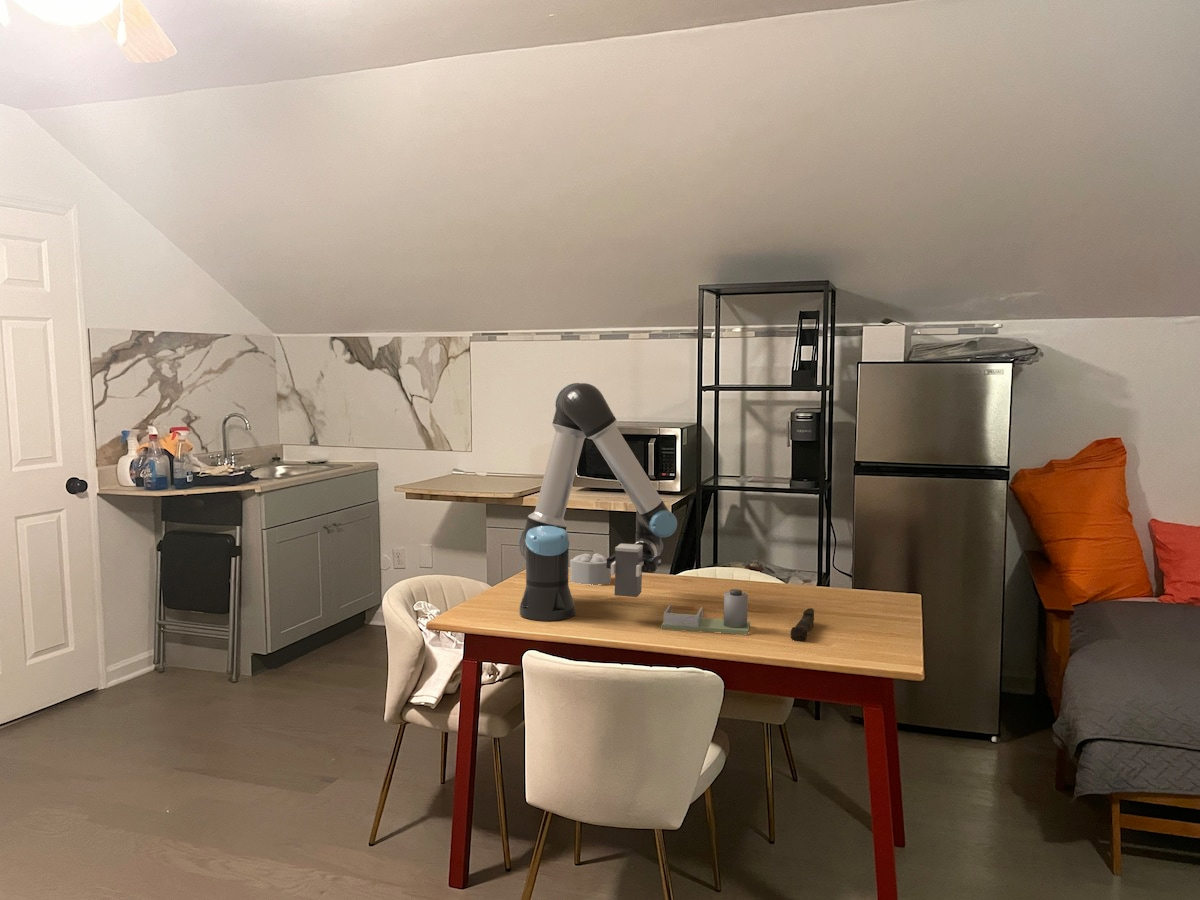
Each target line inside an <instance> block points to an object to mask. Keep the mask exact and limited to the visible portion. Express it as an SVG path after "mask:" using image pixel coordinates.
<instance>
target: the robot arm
mask: <svg viewBox="0 0 1200 900" xmlns="http://www.w3.org/2000/svg"><path fill="white" fill-rule="evenodd" d="M554 405H555V413H554V415H553V420H552V424H551V425H552V427H553V429H554V431H555V433H554V436H553V439H552V440H553V441H552V444H551V447H550V452H549V455H548V459H547V463H546V467H545V471H544V474H543V479H542V483H541V485H540V489H539V494H538V497H537V500H536V505H535V509H534V511H533V512H532V513H530V514H528V515H527V518H526V522H525V526H524V528H523V531H522V532H521V534H520V536H519V541H518V548H519V551H520V554H521V556H522V557H523V559H524V560H525V565H526V566H525V589H524V592H523V595H522V598H521V602H520V605H519V616H520V617H522V616H523V617H522V618H524V617H525V618H524V619H527V618H528V619H527V620H532V619H533V621H541V622H542V621H545V622H546V621H549V620H550V621H561V620H566V619H569V618H571V616H572V617H574V616H575V613H576V612H575V608H576V607H575V602H574V598H573V597H572V593H571V589H570V587H569V562H570V561H569V559H570V558H569V551H570V550H569V547H570V539H569V534H568V532H567V527H568V525H567V523H566V521H565V513H566V511H567V506H568V502H569V500H570V495H571V491H572V488H573V483H574V481H575V476H576V472H577V468H578V466H579V460H580V457H581V453H582V449H583V445H584V441H585V440H586V439H588V440H592V442H593V443H594V445H595V446H596V448H597V450H598V451H599V453H600V454H601V456H602V457H603V459H604V460H605V461H606V463H607V465H608V467H609V468H610V470H611V472H612V473H613V475H614V476H615V478H616V479H617V481H618V482H619V484H620V486H621V487H622V488H623V490H624V492H625V494H626V495H627V496H628V498H629V500H630V501H631V502H632V504H633V505H634V508H635V509H636V513H635V514H636V518H635V519H636V521H635V528H636V529H635V542H634V544H636V545H643V552H642V562H640V563H639V564H638V565H637V566H636V577H639V576H640V575H641V574H642V575H643V573H648V572H649V571H650V572H652V573H654V572H657V571H656V570H657V569H658V567H660V566H662V556H661V554H662V553H663V549H664V543H663V541H662V538H668V537H670V536H672V535H673V534H674V533H675V532H676V530H677V529H678V528H677V527H678V520H677V517H676V515H674V513H673V512H672V511H670V510H669V509H668V507H667V505H666V504H665V503H664V502H665V501H663V498H662V497H661V495H660V494H659V492H658V490H657V489H656V488H655V486H654V485H653V482H651V480H650V478H649V476H648V475H647V473H646V472H645V470H644V467H642V465H641V463H640V462H639V460H638V459H637V457H636V456H635V454H634V452H633V451H632V449H631V447H630V446H629V444H628V442H627V441H626V440H625V438H624V436H623V435H622V433H621V432H620V430H619V428H618V427H617V418H616V416H615V415H614V413H613V411H612V410H611V408H610V406H609V404H608V403H607V400H606V399H605V397H604V395H603V394H602V392H601V391H600V389H598V388H597V387H596V386H595V385H593V384H590V383H585V382H582V383H581V382H575V383H574V382H573V383H571V384H568V385H566V386H564V387H563V388H562V389H561V390H560V391H559V392H558V393H557V396H556V399H555V404H554ZM606 558H607V566H606V568H610V569H611V576H615V560H616V551H615V552H613V554H612V555H610V556H609V557H606Z"/></svg>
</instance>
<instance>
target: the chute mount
mask: <svg viewBox="0 0 1200 900" xmlns="http://www.w3.org/2000/svg"><path fill="white" fill-rule="evenodd" d="M703 613H704V612H703V607H702V606H701V607H700V608H699V610H698V612H697V613H696V614H691V613H690V614H686V613H676V612H675V613H673V612H672V605H671V604H670V605H668V606H667V607H666V609H665V610H664V612H663V622H664V625H675V626H689V627H699V625H700V623H701V621H702V619H703V618H704V617H703V615H704V614H703Z"/></svg>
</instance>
